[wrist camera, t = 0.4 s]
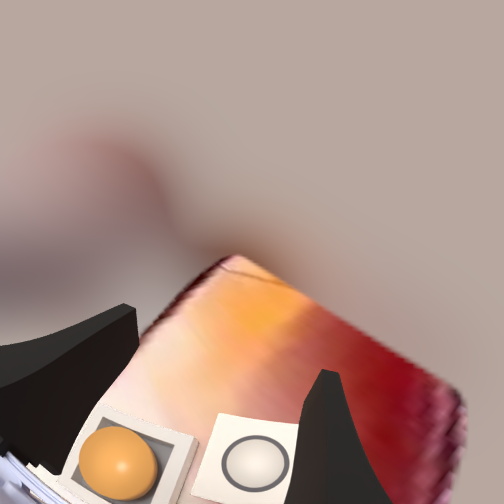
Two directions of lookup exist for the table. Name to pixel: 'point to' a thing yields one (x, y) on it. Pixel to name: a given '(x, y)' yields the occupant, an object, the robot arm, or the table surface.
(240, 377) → the table surface
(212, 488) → the paper sheet
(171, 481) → the button box
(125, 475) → the button
